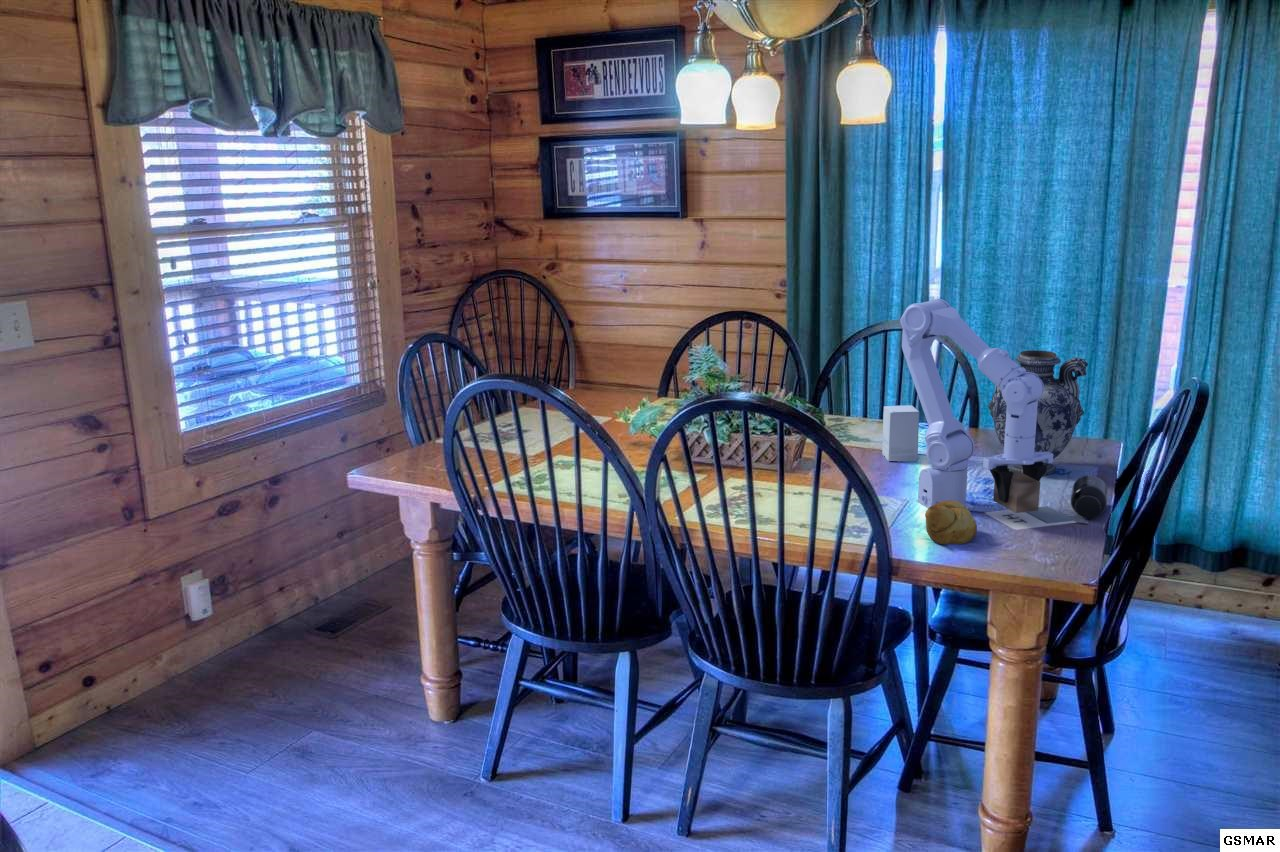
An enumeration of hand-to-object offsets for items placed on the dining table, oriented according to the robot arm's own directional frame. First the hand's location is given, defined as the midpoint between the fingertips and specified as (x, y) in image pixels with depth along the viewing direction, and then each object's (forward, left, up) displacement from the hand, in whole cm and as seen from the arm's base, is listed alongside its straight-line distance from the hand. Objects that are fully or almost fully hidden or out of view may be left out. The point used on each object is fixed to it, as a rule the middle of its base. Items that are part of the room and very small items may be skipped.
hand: (1015, 499), depth 208 cm
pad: (+8, 0, -4) cm, 9 cm away
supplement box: (+1, +50, -5) cm, 50 cm away
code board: (+4, 0, -5) cm, 6 cm away
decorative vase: (+25, +31, -5) cm, 40 cm away
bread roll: (-16, -4, -5) cm, 18 cm away
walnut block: (0, 0, -1) cm, 1 cm away
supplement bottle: (+21, +4, -1) cm, 21 cm away
